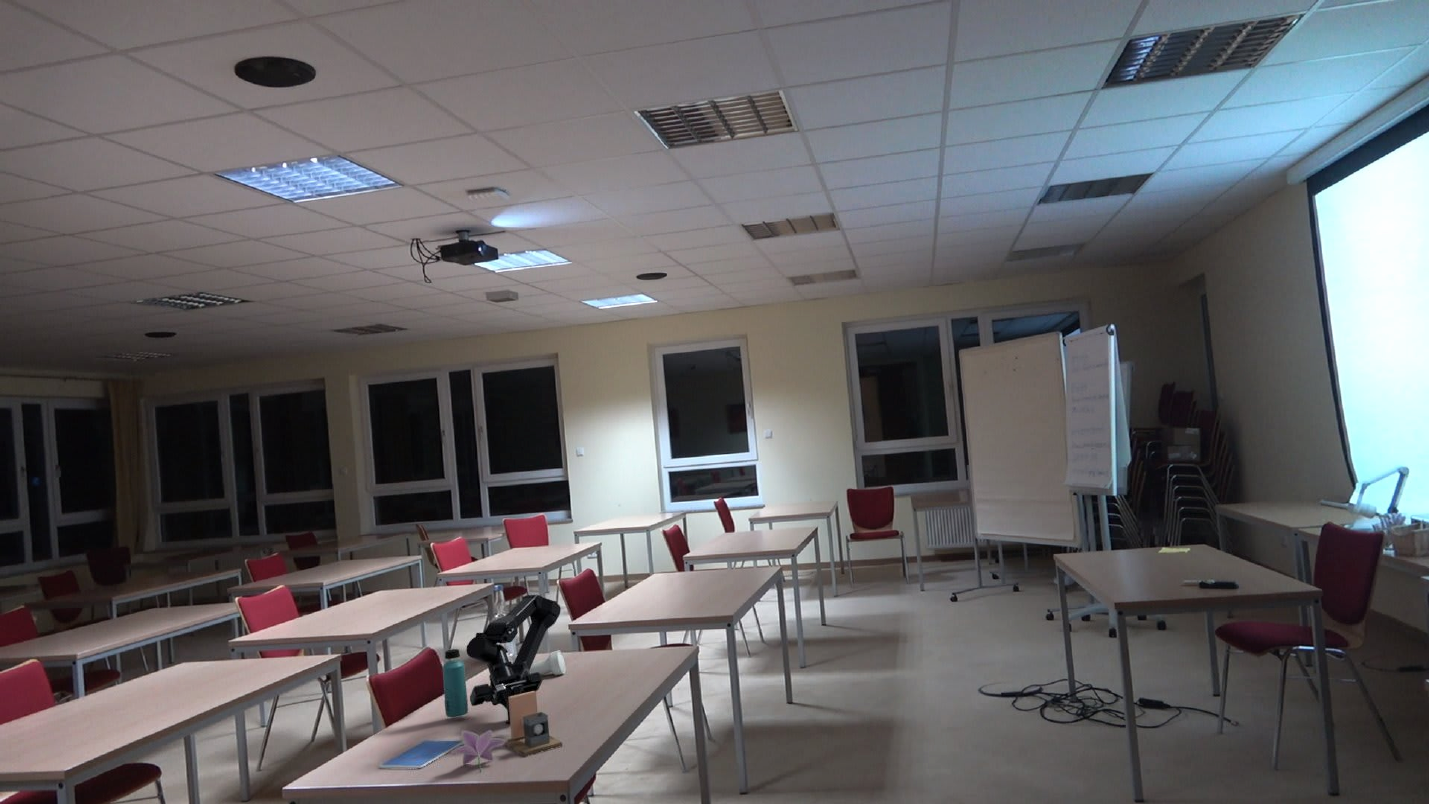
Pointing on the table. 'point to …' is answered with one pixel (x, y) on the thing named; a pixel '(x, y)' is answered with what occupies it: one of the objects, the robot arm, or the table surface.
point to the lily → (477, 746)
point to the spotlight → (550, 664)
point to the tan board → (525, 750)
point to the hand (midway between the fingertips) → (516, 717)
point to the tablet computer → (421, 754)
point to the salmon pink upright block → (522, 713)
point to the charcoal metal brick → (529, 735)
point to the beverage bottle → (454, 685)
